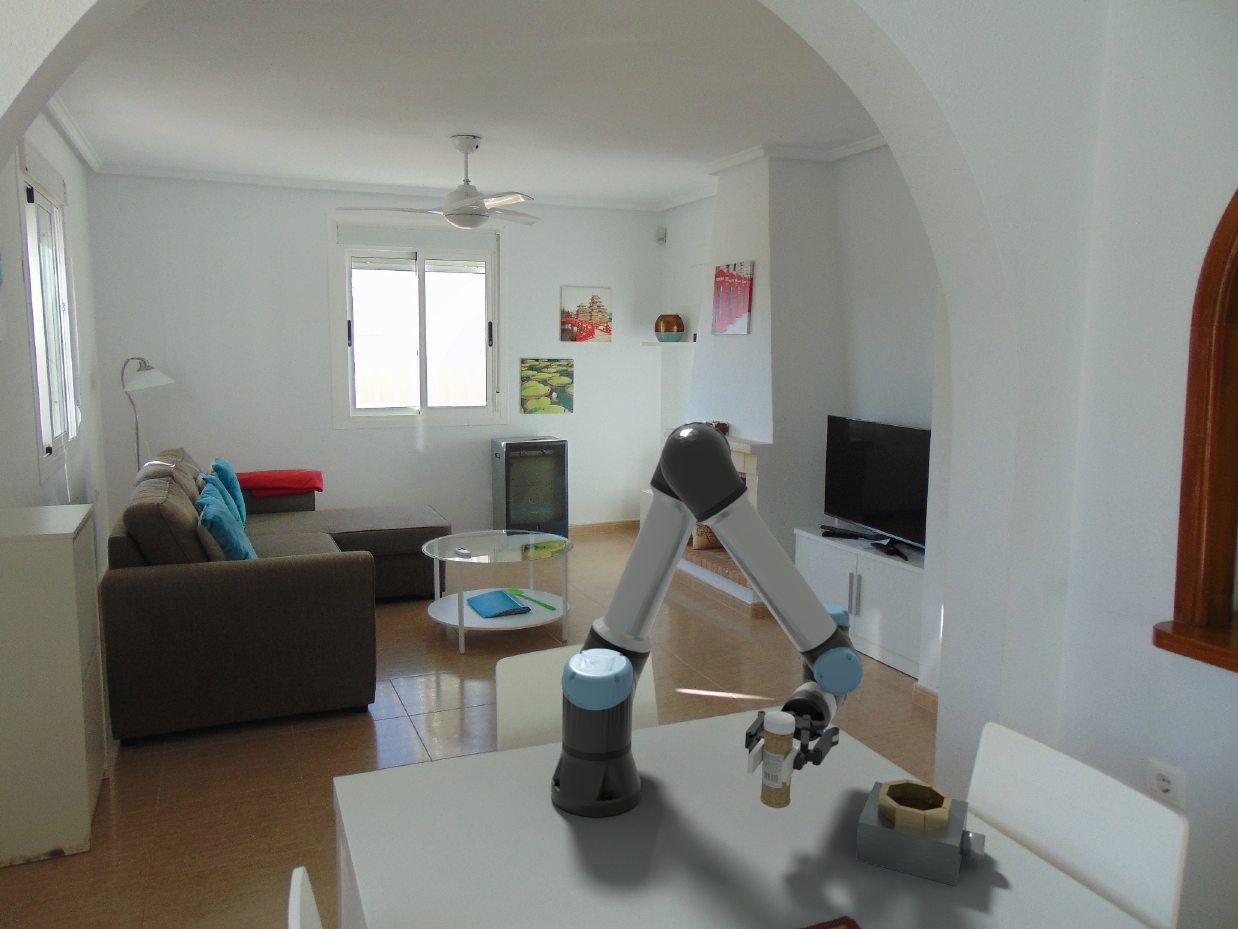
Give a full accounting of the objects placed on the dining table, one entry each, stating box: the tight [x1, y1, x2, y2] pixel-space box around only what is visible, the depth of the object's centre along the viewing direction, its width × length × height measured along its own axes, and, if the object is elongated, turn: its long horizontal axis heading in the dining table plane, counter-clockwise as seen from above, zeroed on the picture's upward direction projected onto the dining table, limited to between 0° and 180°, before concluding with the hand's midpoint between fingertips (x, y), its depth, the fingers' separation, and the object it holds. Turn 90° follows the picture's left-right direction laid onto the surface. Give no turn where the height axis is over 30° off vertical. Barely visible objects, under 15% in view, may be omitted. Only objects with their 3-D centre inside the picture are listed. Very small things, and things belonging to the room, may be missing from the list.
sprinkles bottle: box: [759, 710, 795, 809], centre depth 132 cm, size 5×5×13 cm
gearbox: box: [855, 778, 987, 887], centre depth 133 cm, size 17×14×8 cm
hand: (767, 768), depth 127 cm, fingers closed on sprinkles bottle, 4 cm apart
